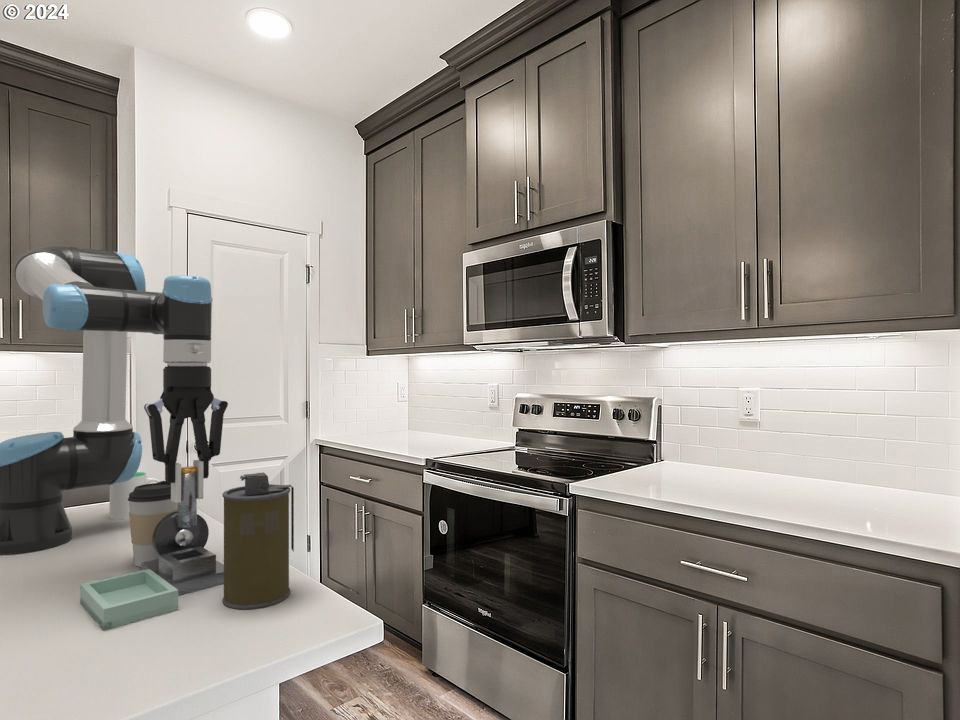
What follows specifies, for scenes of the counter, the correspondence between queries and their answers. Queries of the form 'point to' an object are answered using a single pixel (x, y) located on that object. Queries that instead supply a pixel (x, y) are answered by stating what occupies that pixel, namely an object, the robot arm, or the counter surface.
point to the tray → (128, 598)
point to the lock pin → (188, 498)
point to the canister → (257, 543)
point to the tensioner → (184, 556)
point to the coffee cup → (148, 517)
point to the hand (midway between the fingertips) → (187, 499)
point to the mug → (125, 495)
